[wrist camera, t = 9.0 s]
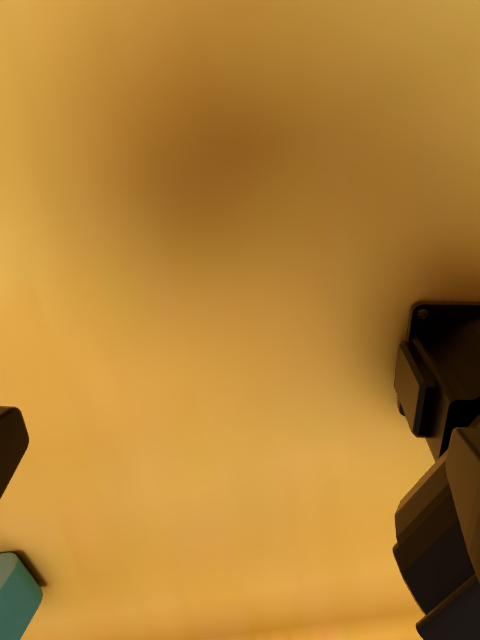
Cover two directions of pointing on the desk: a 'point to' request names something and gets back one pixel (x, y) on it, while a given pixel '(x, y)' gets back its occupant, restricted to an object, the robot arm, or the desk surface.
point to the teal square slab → (16, 597)
